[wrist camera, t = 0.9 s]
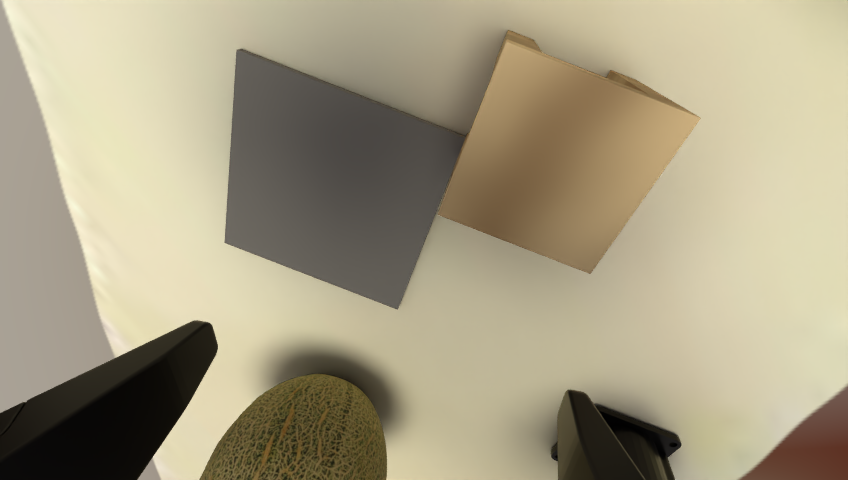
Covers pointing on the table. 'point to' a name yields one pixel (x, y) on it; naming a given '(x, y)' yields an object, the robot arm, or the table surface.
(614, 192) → the stool
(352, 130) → the mat
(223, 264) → the table surface
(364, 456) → the fruit
